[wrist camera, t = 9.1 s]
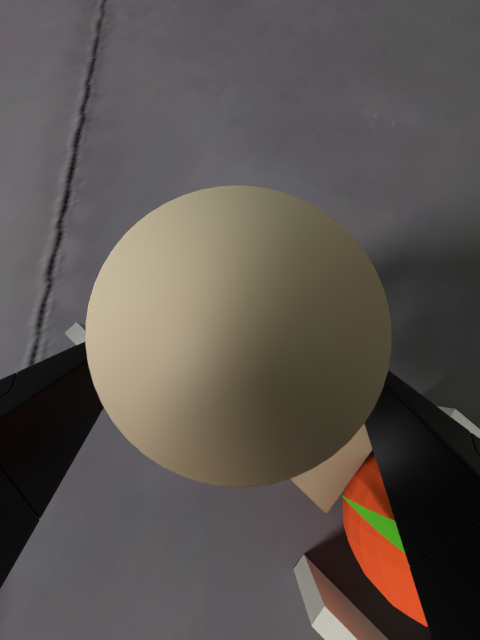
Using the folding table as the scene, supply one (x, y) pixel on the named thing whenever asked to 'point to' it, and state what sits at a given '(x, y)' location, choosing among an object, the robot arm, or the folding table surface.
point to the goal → (330, 603)
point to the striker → (242, 341)
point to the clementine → (379, 539)
